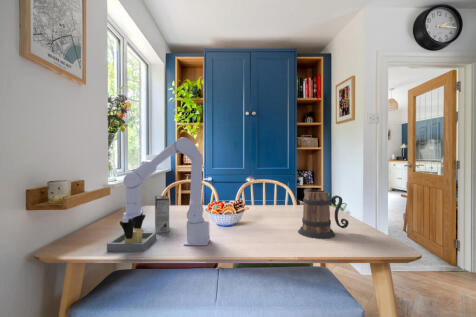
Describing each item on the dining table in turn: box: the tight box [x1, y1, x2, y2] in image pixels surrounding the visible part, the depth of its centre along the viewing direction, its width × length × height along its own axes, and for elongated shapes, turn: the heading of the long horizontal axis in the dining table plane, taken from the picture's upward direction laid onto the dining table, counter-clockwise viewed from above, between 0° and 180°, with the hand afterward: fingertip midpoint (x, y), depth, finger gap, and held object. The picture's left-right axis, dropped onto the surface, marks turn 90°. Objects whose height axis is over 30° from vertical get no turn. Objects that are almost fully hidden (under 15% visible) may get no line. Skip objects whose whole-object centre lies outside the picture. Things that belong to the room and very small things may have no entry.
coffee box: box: [154, 195, 170, 234], centre depth 118 cm, size 9×6×16 cm
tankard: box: [297, 189, 349, 240], centre depth 113 cm, size 24×17×20 cm
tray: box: [106, 231, 157, 252], centre depth 98 cm, size 14×14×3 cm
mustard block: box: [125, 227, 143, 243], centre depth 98 cm, size 5×5×5 cm
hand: (133, 235), depth 98 cm, fingers open, 7 cm apart
